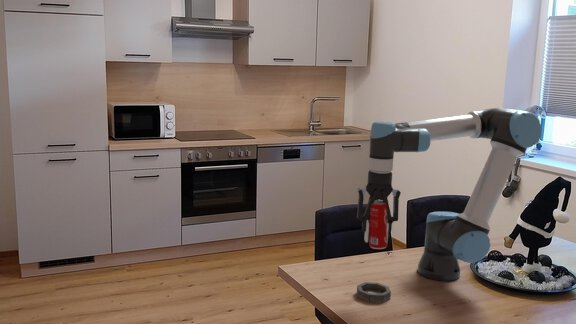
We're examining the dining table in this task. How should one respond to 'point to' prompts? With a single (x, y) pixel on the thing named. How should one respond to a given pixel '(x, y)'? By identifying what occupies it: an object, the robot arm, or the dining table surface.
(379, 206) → the beverage can
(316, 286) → the dining table surface
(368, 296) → the collar
